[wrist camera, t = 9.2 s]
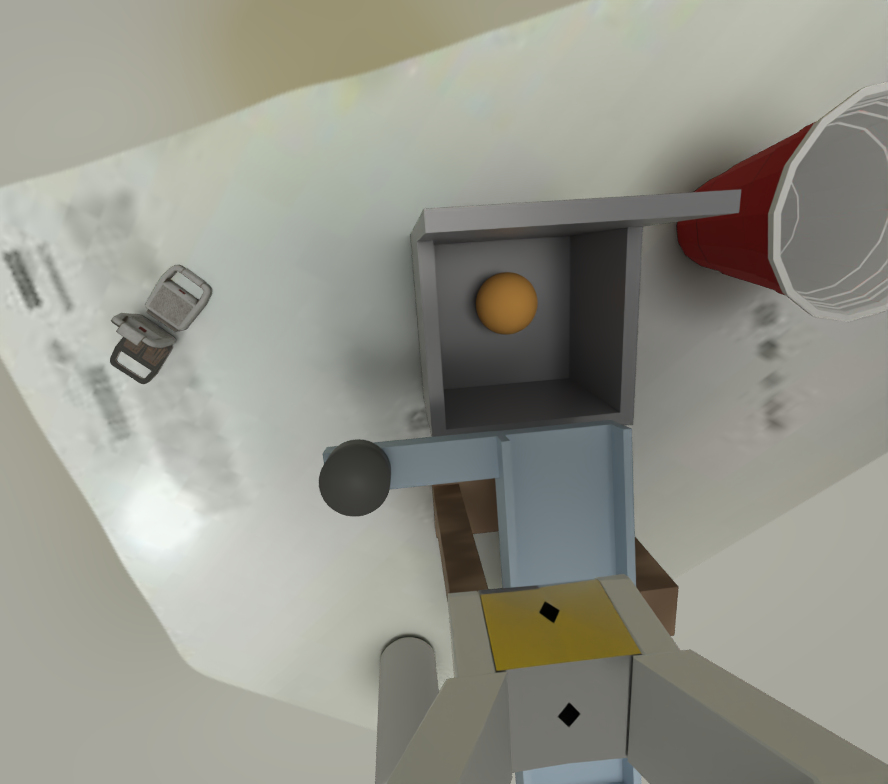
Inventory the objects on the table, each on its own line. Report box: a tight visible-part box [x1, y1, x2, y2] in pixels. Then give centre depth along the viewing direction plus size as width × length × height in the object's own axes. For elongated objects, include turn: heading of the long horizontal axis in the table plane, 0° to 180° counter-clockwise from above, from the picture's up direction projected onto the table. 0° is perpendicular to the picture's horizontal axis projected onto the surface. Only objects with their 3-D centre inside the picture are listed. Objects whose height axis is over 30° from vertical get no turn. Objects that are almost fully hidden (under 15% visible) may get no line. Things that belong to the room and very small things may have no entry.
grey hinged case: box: [110, 265, 212, 384], centre depth 30 cm, size 8×3×4 cm, turn 140°
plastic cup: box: [677, 81, 888, 322], centre depth 28 cm, size 11×11×12 cm
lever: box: [319, 420, 641, 784], centre depth 24 cm, size 14×20×6 cm
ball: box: [476, 272, 538, 334], centre depth 31 cm, size 4×4×4 cm
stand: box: [432, 478, 678, 636], centre depth 30 cm, size 11×6×14 cm, turn 94°
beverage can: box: [375, 637, 439, 784], centre depth 35 cm, size 5×5×12 cm
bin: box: [410, 190, 741, 437], centre depth 26 cm, size 12×12×16 cm
